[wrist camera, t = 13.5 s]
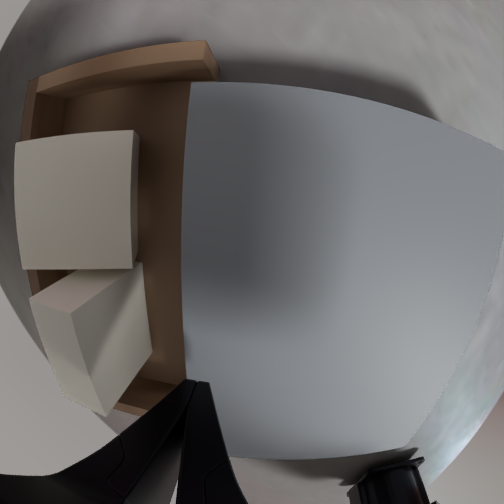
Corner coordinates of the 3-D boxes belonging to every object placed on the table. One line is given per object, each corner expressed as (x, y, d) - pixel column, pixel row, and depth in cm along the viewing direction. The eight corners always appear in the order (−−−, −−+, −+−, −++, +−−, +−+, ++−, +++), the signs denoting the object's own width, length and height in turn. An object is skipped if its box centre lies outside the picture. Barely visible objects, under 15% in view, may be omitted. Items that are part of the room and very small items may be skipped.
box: (219, 68, 10) (206, 40, 7) (206, 391, 15) (197, 428, 12) (65, 90, 10) (29, 81, 7) (86, 363, 15) (65, 390, 12)
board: (458, 153, 10) (511, 155, 6) (387, 403, 15) (404, 446, 11) (215, 109, 10) (191, 82, 7) (207, 401, 15) (195, 451, 11)
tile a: (15, 142, 7) (39, 145, 9) (22, 269, 8) (43, 251, 10) (133, 130, 8) (140, 136, 10) (132, 268, 10) (138, 249, 12)
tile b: (70, 313, 7) (28, 298, 7) (106, 416, 8) (65, 397, 9) (142, 262, 12) (101, 256, 12) (152, 351, 13) (115, 341, 13)
